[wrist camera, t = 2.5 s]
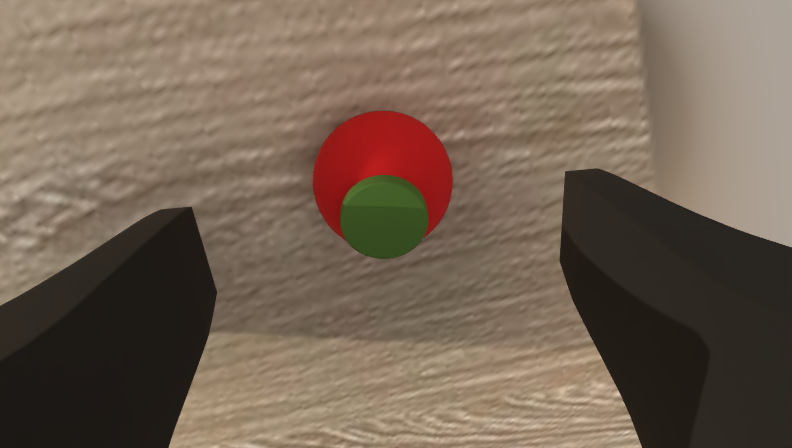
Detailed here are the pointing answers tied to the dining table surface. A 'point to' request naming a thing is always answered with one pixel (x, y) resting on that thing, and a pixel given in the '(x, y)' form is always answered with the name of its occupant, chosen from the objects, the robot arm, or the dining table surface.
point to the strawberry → (382, 182)
